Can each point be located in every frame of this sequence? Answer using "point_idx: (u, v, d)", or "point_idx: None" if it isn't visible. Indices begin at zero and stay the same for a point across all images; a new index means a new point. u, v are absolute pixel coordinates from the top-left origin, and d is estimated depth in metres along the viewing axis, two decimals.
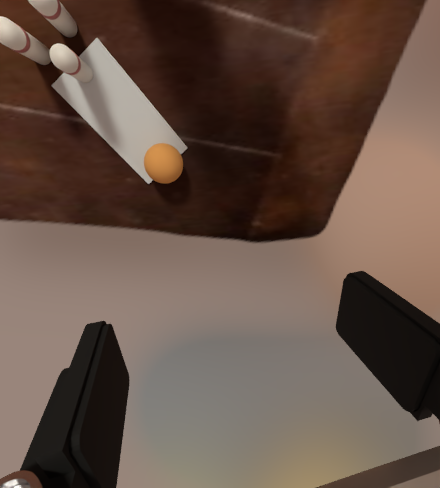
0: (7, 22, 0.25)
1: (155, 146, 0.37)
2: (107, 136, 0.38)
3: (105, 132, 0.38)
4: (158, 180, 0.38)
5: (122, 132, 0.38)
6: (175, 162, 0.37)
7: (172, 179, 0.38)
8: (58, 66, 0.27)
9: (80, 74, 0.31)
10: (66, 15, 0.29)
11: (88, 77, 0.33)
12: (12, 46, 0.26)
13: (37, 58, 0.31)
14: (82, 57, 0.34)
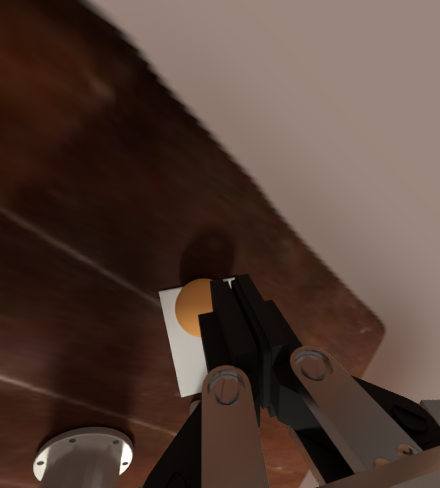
0: None
1: None
2: None
3: None
4: None
5: None
6: (190, 320, 0.23)
7: (209, 297, 0.24)
8: None
9: None
10: None
11: None
12: None
13: None
14: None
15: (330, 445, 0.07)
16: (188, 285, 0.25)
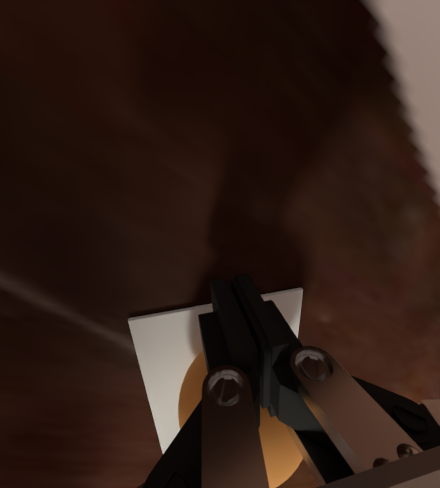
0: None
1: None
2: None
3: None
4: None
5: None
6: None
7: (285, 464, 0.09)
8: None
9: None
10: None
11: None
12: None
13: None
14: None
15: (330, 445, 0.07)
16: None
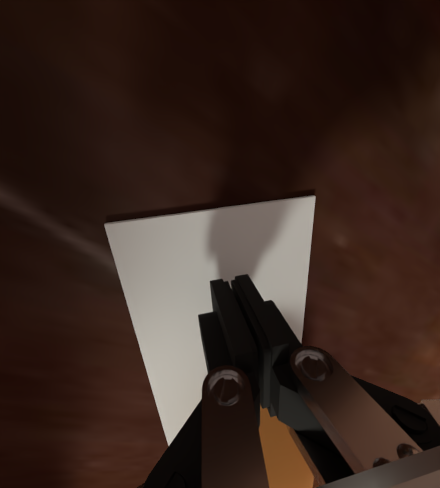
0: None
1: None
2: None
3: None
4: None
5: None
6: None
7: None
8: None
9: None
10: None
11: None
12: None
13: None
14: None
15: (330, 445, 0.07)
16: None
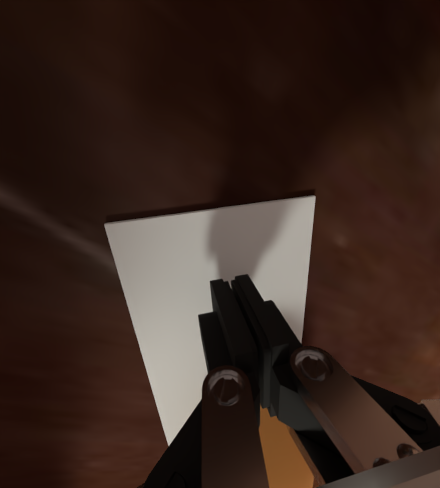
0: None
1: None
2: None
3: None
4: None
5: None
6: None
7: None
8: None
9: None
10: None
11: None
12: None
13: None
14: None
15: (330, 445, 0.07)
16: None
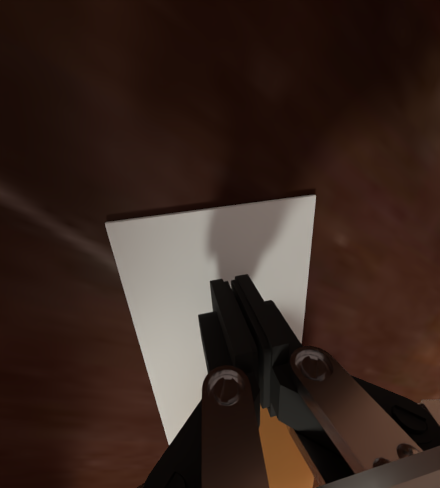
0: None
1: None
2: None
3: None
4: None
5: None
6: None
7: None
8: None
9: None
10: None
11: None
12: None
13: None
14: None
15: (330, 445, 0.07)
16: None
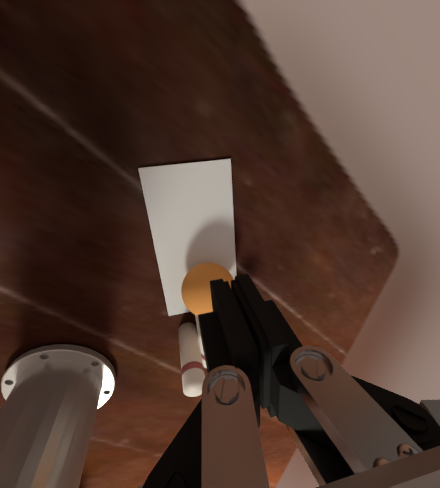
0: None
1: (197, 274, 0.25)
2: (229, 242, 0.29)
3: (226, 246, 0.29)
4: None
5: (210, 236, 0.28)
6: None
7: None
8: None
9: None
10: (182, 351, 0.29)
11: None
12: None
13: None
14: None
15: (330, 444, 0.07)
16: None
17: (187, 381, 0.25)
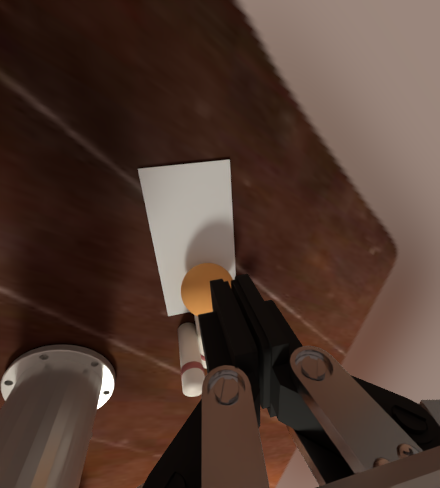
0: None
1: (197, 274, 0.25)
2: (228, 242, 0.29)
3: (226, 247, 0.29)
4: None
5: (209, 237, 0.28)
6: None
7: None
8: None
9: None
10: (182, 351, 0.29)
11: None
12: None
13: None
14: None
15: (330, 445, 0.07)
16: None
17: (187, 381, 0.25)
